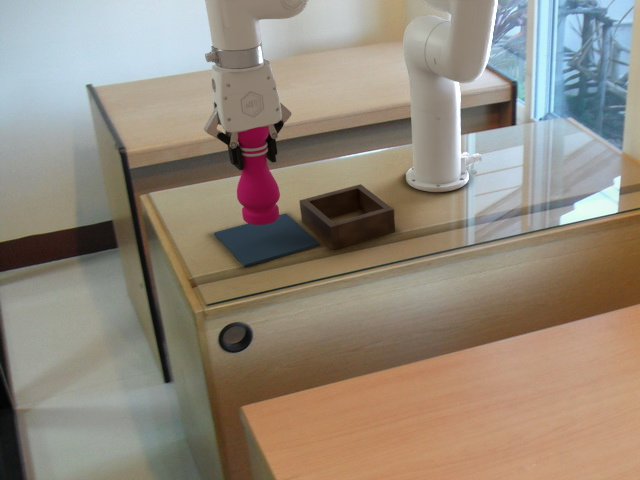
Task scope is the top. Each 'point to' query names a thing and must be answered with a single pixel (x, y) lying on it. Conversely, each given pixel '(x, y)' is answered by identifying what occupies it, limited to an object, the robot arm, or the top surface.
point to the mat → (266, 240)
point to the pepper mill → (257, 179)
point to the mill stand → (352, 229)
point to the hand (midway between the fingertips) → (254, 162)
